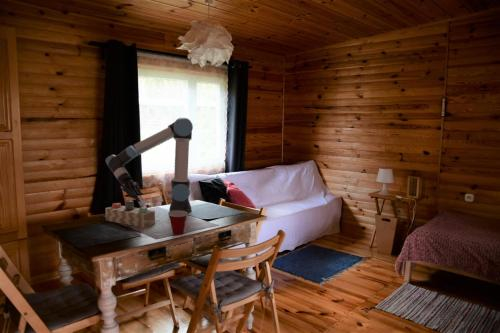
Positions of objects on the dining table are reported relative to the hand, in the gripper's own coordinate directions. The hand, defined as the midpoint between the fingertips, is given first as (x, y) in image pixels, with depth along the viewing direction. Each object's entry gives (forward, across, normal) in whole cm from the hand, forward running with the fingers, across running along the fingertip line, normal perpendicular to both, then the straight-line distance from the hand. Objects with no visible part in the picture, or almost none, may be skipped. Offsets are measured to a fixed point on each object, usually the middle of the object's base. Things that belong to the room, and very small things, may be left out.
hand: (143, 205), depth 225 cm
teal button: (+5, 0, -5) cm, 7 cm away
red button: (-12, 0, -22) cm, 25 cm away
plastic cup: (+31, +4, +13) cm, 34 cm away
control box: (0, 0, -17) cm, 17 cm away
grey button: (-6, 0, -11) cm, 13 cm away
